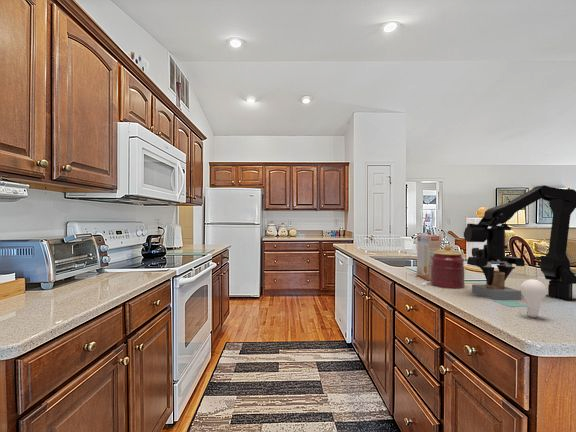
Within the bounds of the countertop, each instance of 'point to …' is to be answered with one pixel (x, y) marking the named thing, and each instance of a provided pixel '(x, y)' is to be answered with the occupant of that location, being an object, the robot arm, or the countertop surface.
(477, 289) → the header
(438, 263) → the canister
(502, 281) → the plug
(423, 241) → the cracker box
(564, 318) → the countertop surface
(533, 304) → the lightbulb
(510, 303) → the mat
